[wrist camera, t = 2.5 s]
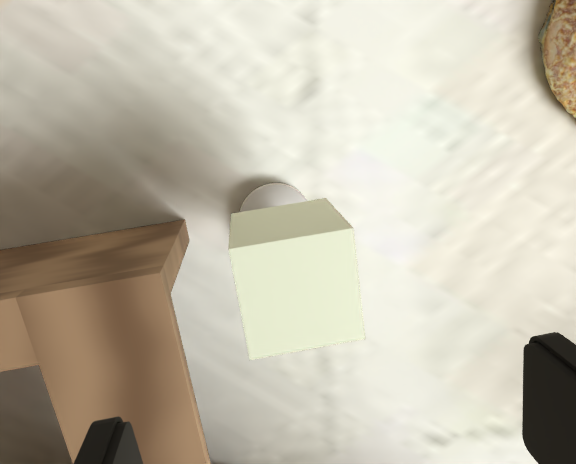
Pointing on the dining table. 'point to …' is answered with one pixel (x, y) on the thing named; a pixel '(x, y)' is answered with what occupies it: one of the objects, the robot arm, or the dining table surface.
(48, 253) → the keyhole shelf
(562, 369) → the robot arm
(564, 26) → the bread roll
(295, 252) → the peg
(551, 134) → the dining table surface
